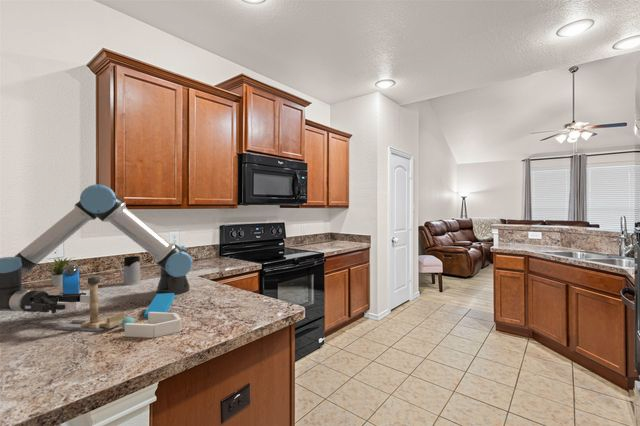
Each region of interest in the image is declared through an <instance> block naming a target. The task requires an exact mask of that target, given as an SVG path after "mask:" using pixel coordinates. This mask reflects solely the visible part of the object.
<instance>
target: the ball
mask: <svg viewBox="0 0 640 426" xmlns="http://www.w3.org/2000/svg"><path fill="white" fill-rule="evenodd" d="M126 323H135V319H134V317H132V316H127V317H124V319H123V320H122V322H121V323H120V325H121V328H122V329H124V330H125V324H126Z"/></svg>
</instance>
